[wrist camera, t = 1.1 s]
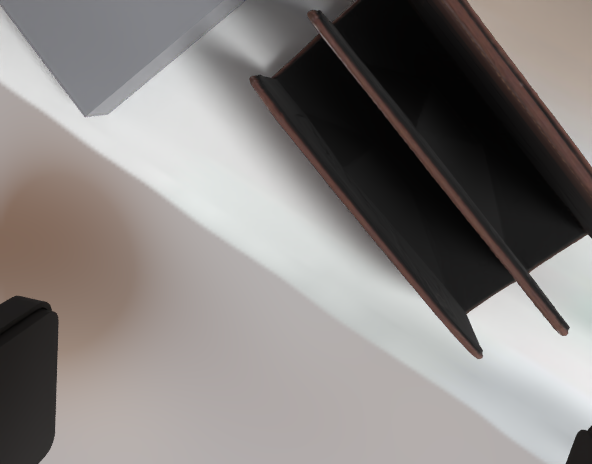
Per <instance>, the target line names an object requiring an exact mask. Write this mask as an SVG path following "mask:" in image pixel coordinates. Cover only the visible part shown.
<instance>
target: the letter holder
mask: <svg viewBox="0 0 592 464" xmlns="http://www.w3.org/2000/svg"><path fill="white" fill-rule="evenodd" d="M307 16H308V18H309V20H310V21H311V23H312V24H313V25H314V27H315V28H316V29H317V31H318V32H319V34H318V35H317V36H316V37H315V38H314V39H313V40H312V41H311V42H310V43H309V44H308V45H307V46H306V47H305V48H303V49H302V50H301V51H300V52H299V53H298V54H297V55H296V56H295V57H294V58H293V59H292V60H291V61H290V62H289V63H287V64H286V65H285V66H284V67H283V68H282V69H281V70H280V71H279V72H277V73H276V74H275V75H274V76H273V77H272V78H268V77H264V76H262V75H257V76H251V77H250V83H251V85H252V87H253V88H254V90H255V91H256V92H257V94H258V95H259V97H260V98H261V100H262V101H263V103H264V104H265V105H266V107H267V108H268V109H269V111H270V112H271V114H272V115H273V116H274V117H275V119H276V120H277V121H278V123H279V124H280V125H281V126H282V128H283V129H284V130H285V131H286V133H287V134H288V135H289V136H290V138H291V139H292V140H293V141H294V142H295V144H296V145H297V146H298V147H299V149H300V150H301V151H302V152H303V154H304V155H305V156H306V157H307V158H308V160H309V161H310V162H311V163H312V165H313V166H314V167H315V168H316V170H317V171H318V172H319V173H320V175H321V176H322V177H323V179H324V180H325V181H326V182H327V184H328V185H329V186H330V187H331V189H332V190H333V191H334V192H335V193H336V195H337V196H338V197H339V198H340V200H341V201H342V202H343V203H344V204H345V205H346V207H347V208H348V209H349V210H350V212H351V213H352V214H353V215H354V216H355V218H356V219H357V220H358V221H359V223H360V224H361V225H362V226H363V228H364V229H365V230H366V231H367V232H368V234H369V235H370V236H371V237H372V239H373V240H374V241H375V242H376V243H377V245H378V246H379V247H380V248H381V249H382V251H383V252H384V253H385V254H386V255H387V256H388V258H389V259H390V260H391V261H392V263H393V264H394V265H395V266H396V267H397V269H398V270H399V271H400V272H401V273H402V275H403V276H404V277H405V278H406V279H407V281H408V282H409V283H410V284H411V286H412V287H413V288H414V289H415V290H416V291H417V293H418V294H419V295H420V296H421V298H422V299H423V300H424V301H425V302H426V304H427V305H428V306H429V307H430V308H431V310H432V311H433V312H434V313H435V315H436V316H437V317H438V318H439V319H440V320H441V321H442V322H443V324H444V325H445V326H446V327H447V328H448V329H449V331H450V332H451V333H452V334H453V335H454V336H455V337H456V338H457V339H458V340H459V342H460V343H461V344H462V345H463V346H464V347H465V348H466V349H467V350H468V351H469V352H470V353H471V354H472V355H473V356H474V357H476V358H477V359H481V358H482V357H483V354H482V352H483V350H482V348H481V347H480V345H479V343H478V340H477V338H476V336H475V333H474V331H473V329H472V326H471V324H470V322H469V319H468V317H467V315H466V314H467V313H469V312H470V311H471V310H473V309H474V308H475V307H477V306H478V305H480V304H481V303H483V302H484V301H486V300H487V299H488V298H490V297H491V296H493V295H494V294H496V293H498V292H499V291H501V290H502V289H504V288H505V287H507V286H509V285H510V284H512V283H514V282H516V281H517V283H518V284H519V285H520V286H521V288H522V289H523V291H524V292H525V293H526V295H527V296H528V297H529V298H530V299H531V301H532V302H533V303H534V305H535V306H536V307H537V308H538V309H539V311H540V312H541V313H542V314H543V316H544V317H545V318H546V319H547V320H548V321H549V323H550V324H551V325H552V327H553V328H554V329H555V330H556V331H557V332H558V333H559V334H560V335H562V336H566V335H567V334H568V329H569V328H570V327H569V326H568V324H567V323H566V322H565V321H564V319H563V318H562V317H561V316H560V314H559V313H558V312H557V310H556V309H555V307H554V306H553V305H552V303H551V302H550V301H549V299H548V298H547V297H546V295H545V294H544V293H543V291H542V290H541V289H540V288H539V286H538V285H537V283H536V282H535V281H534V279H533V278H532V277H531V276H530V274H529V273H530V272H531V271H532V270H533V269H535V268H536V267H538V266H539V265H541V264H542V263H544V262H545V261H547V260H548V259H550V258H552V257H553V256H554V255H556V254H557V253H559V252H561V251H562V250H564V249H565V248H567V247H569V246H570V245H571V244H573V243H575V242H577V241H578V240H580V239H582V238H583V237H584V236H586V235H589V236H590V237H591V238H592V167H591V166H590V164H589V163H588V161H587V160H586V159H585V157H584V156H583V154H582V153H581V152H580V150H579V149H578V147H577V146H576V145H575V143H574V142H573V141H572V140H571V138H570V137H569V136H568V134H567V133H566V132H565V130H564V129H563V128H562V126H561V125H560V124H559V122H558V121H557V120H556V118H555V117H554V116H553V114H552V113H551V112H550V110H549V109H548V108H547V107H546V105H545V104H544V103H543V102H542V100H541V99H540V98H539V96H538V94H537V93H536V92H535V91H534V90H533V88H532V87H531V86H530V85H529V83H528V82H527V80H526V79H525V77H524V76H523V75H522V73H521V72H520V71H519V70H518V68H517V67H516V66H515V64H514V63H513V62H512V60H511V59H510V58H509V57H508V55H507V54H506V52H505V51H504V50H503V48H502V47H501V46H500V45H499V43H498V42H497V41H496V40H495V38H494V37H493V35H492V34H491V33H490V31H489V30H488V29H487V28H486V26H485V25H484V24H483V22H482V21H481V19H480V18H479V16H478V15H477V14H476V13H475V11H474V10H473V9H472V7H471V6H470V5H469V3H468V1H467V0H356V1H355V2H354V3H353V4H352V5H351V6H350V7H348V8H347V9H346V10H345V11H344V12H343V13H342V14H341V15H340V16H339V17H337V18H336V19H335V20H334V21H333V22H332V23H331V22H330V21H329V20H328V19H327V18H326V16H324V14H323V13H322V12H321V11H320V10H318V11H316V10H311V11H309V12H308V13H307Z"/></svg>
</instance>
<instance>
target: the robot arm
mask: <svg viewBox="0 0 592 464" xmlns="http://www.w3.org/2000/svg"><path fill="white" fill-rule="evenodd" d="M57 351H58V315H57V313H55V312H53V311H52V309H51V306H50V304H49V303H47V302H44V301H39V300H35V299H30V298H26V297H22V296H15V297H12V298H10V299H9V300H7V301H5V302H3V303H2V304H0V464H38V463H39V462H40V461H41V460H42V459H43V458H44V457H45V456H46V454H47V453H48V452H49V450H50V448H51V446H52V443H53V440H54V436H55V415H56V382H57ZM566 464H592V426H591V427H590V428H589V429H588V431H587V430H580V431H579V432H578V433H577V435H576V437H575V440H574V443H573V446H572V448H571V451H570V454H569V457H568V459H567V462H566Z"/></svg>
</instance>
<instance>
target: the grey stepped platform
mask: <svg viewBox="0 0 592 464" xmlns="http://www.w3.org/2000/svg"><path fill="white" fill-rule="evenodd" d="M244 1H245V0H0V5H1V6H2V8H3V9H4V10H5V12H6V13H7V14H8V16H9V17H10V18H11V20H12V21H13V22H14V24H15V25H16V26H17V28H18V29H19V30H20V32H21V33H22V34H23V36H24V37H25V38H26V40H27V41H28V42H29V44H30V45H31V46H32V48H33V49H34V50H35V52H36V53H37V54H38V56H39V57H40V58H41V60H42V61H43V62H44V64H45V65H46V66H47V68H48V69H49V70H50V71H51V73H52V74H53V75H54V77H55V78H56V79H57V81H58V82H59V83H60V85H61V86H62V87H63V89H64V90H65V91H66V93H67V94H68V95H69V97H70V98H71V99H72V101H73V102H74V103H75V105H76V106H77V107H78V109H79V110H80V111H81V113H82V114H83V115H84V117H91V116H99V115H106V114H109V113H110V112H111V111H113V110H114V109H115V108H116V107H117V106H119V105H120V104H121V103H122V102H123V101H125V100H126V99H127V98H128V97H130V96H131V95H132V94H133V93H134V92H136V91H137V90H138V89H139V88H140V87H142V86H143V85H144V84H145V83H146V82H148V81H149V80H150V79H151V78H152V77H154V76H155V75H156V74H157V73H158V72H160V71H161V70H162V69H163V68H165V67H166V66H167V65H168V64H169V63H171V62H172V61H173V60H174V59H175V58H177V57H178V56H179V55H180V54H181V53H183V52H184V51H185V50H186V49H187V48H189V47H190V46H191V45H192V44H193V43H195V42H196V41H197V40H198V39H200V38H201V37H202V36H203V35H204V34H206V33H207V32H208V31H209V30H210V29H212V28H213V27H214V26H215V25H216V24H218V23H219V22H220V21H221V20H222V19H224V18H225V17H226V16H227V15H229V14H230V13H231V12H232V11H233V10H235V9H236V8H237V7H238V6H239V5H241V4H242V3H243V2H244Z"/></svg>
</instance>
